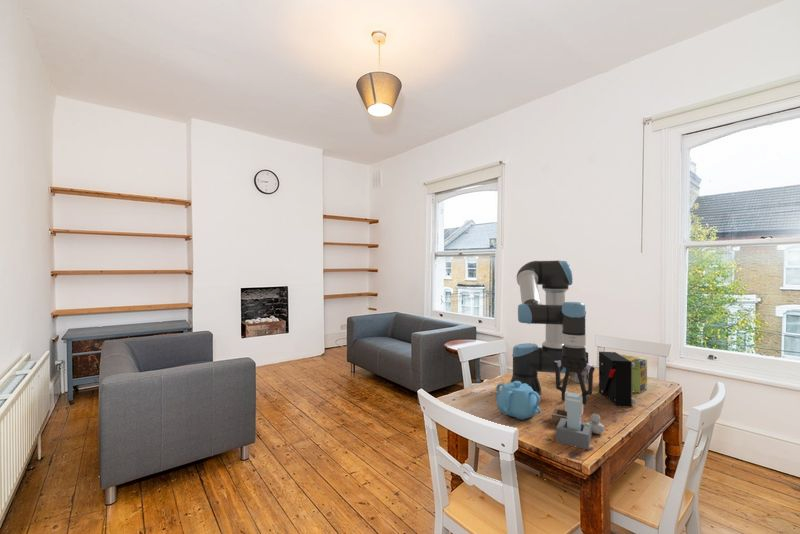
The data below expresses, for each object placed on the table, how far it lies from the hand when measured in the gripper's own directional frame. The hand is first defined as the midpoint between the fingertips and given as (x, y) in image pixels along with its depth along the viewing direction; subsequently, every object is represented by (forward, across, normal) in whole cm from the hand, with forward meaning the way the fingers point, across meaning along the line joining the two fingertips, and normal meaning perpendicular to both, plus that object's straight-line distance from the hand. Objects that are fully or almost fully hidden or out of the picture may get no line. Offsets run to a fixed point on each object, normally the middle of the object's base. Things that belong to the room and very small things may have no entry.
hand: (574, 411), depth 126 cm
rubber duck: (+10, +6, +11) cm, 16 cm away
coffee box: (+10, -7, +75) cm, 76 cm away
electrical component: (+10, +11, +54) cm, 56 cm away
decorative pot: (+10, -23, +12) cm, 28 cm away
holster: (+10, -5, +13) cm, 17 cm away
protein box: (+10, +15, +76) cm, 78 cm away
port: (+10, 0, 0) cm, 10 cm away
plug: (+6, 0, 0) cm, 6 cm away
